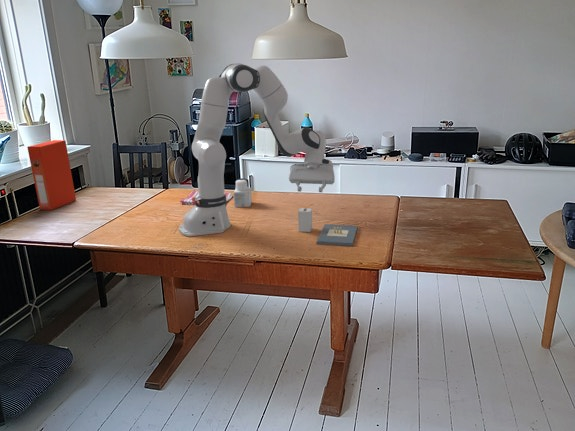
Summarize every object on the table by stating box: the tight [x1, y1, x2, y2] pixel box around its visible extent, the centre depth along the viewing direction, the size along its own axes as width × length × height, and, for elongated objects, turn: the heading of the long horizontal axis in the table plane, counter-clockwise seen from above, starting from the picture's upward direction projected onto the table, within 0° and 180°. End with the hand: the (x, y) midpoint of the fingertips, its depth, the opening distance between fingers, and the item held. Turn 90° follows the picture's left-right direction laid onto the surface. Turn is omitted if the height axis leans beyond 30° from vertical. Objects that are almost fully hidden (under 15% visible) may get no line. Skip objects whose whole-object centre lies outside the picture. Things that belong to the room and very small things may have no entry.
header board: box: [316, 223, 358, 247], centre depth 207 cm, size 20×14×4 cm
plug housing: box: [297, 207, 313, 233], centre depth 214 cm, size 4×5×9 cm
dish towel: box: [179, 189, 234, 206], centre depth 261 cm, size 17×23×4 cm
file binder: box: [26, 139, 77, 211], centre depth 257 cm, size 8×17×32 cm, turn 161°
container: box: [233, 177, 253, 208], centre depth 251 cm, size 8×8×13 cm
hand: (309, 191), depth 222 cm, fingers open, 8 cm apart
